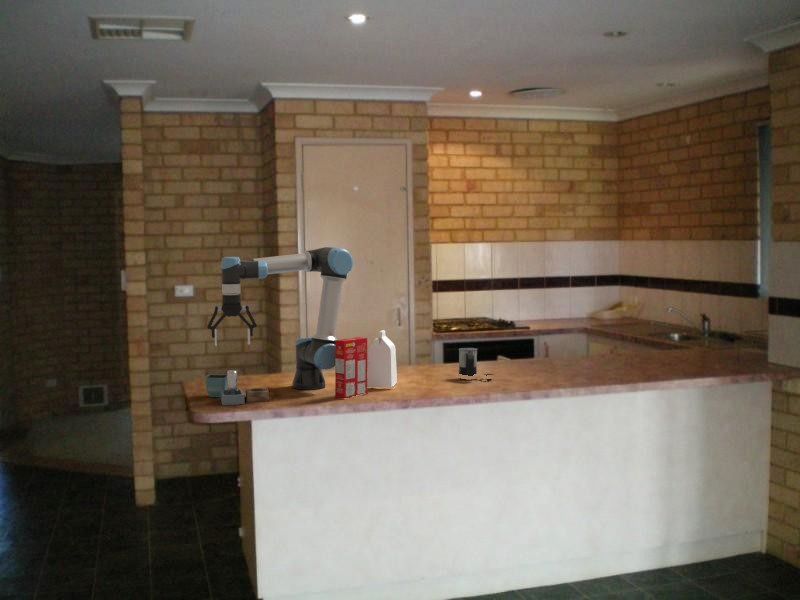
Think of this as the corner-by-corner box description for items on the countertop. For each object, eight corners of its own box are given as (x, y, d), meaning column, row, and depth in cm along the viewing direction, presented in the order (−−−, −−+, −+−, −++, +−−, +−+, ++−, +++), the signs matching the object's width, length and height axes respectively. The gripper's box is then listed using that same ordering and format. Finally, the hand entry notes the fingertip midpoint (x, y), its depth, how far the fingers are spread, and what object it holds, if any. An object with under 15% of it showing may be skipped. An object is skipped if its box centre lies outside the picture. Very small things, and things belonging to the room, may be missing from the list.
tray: (242, 398, 363) (242, 389, 362) (244, 404, 350) (244, 394, 350) (220, 399, 360) (220, 389, 360) (222, 405, 348) (222, 395, 348)
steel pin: (237, 398, 358) (236, 370, 357) (237, 399, 354) (237, 371, 353) (227, 398, 357) (227, 370, 356) (227, 400, 353) (227, 371, 352)
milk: (391, 389, 384) (391, 332, 382) (367, 388, 386) (367, 332, 384) (397, 385, 396) (397, 329, 393) (373, 384, 398) (373, 329, 396)
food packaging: (358, 392, 376) (358, 337, 374) (367, 394, 373) (367, 338, 371) (335, 397, 365) (335, 340, 363) (344, 399, 362) (344, 341, 360)
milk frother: (454, 378, 415) (455, 348, 414) (483, 376, 422) (483, 346, 420) (468, 382, 402) (468, 351, 401) (497, 380, 409) (497, 350, 407)
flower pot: (229, 394, 371) (228, 374, 370) (225, 398, 362) (225, 377, 361) (208, 394, 370) (208, 374, 370) (204, 398, 362) (204, 377, 361)
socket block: (266, 396, 366) (266, 387, 366) (268, 400, 358) (268, 391, 357) (245, 397, 364) (245, 388, 364) (247, 401, 355) (247, 392, 355)
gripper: (260, 292, 358) (261, 342, 360) (200, 294, 352) (201, 344, 354) (262, 294, 351) (263, 344, 353) (200, 295, 345) (202, 347, 347)
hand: (232, 344), depth 353 cm, fingers open, 13 cm apart
